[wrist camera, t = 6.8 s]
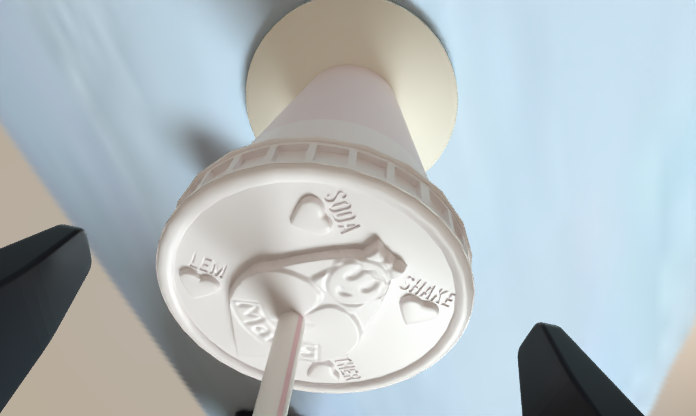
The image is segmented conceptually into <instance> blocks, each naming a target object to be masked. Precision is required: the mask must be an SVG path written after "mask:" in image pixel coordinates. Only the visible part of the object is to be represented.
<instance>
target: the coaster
mask: <svg viewBox="0 0 696 416" xmlns="http://www.w3.org/2000/svg"><path fill="white" fill-rule="evenodd" d="M339 65H358V66H362V67H366V68H368V69H370V70H372V71H374V72H376V73H377V74H379V75H380V76H381V77H382V78H384V79H385V80H386V81H387V83H388V84H389V85H390V87H391V88H392V90H393V92H394V94H395V96H396V99H397V101H398V104H399V107H400V109H401V112H402V114H403V117H404V119H405V122H406V124H407V127H408V129H409V132H410V134H411V137H412V139H413V142H414V145H415V147H416V150H417V152H418V155H419V157H420V160H421V162H422V165H423V167H424V170H425V172H427V171H428V170H429V169H430V168H431V167H432V166H433V164H434V163H435V162H436V161H437V160H438V158H439V157H440V156H441V154H442V152H443V151H444V149H445V148H446V146H447V144H448V141H449V139H450V137H451V135H452V132H453V128H454V125H455V122H456V115H457V109H458V92H457V84H456V79H455V75H454V72H453V68H452V65H451V63H450V60H449V58H448V56H447V53H446V51H445V49H444V48H443V46H442V44H441V43H440V41H439V39H438V38H437V37H436V35H435V34H434V33H433V32H432V31H431V29H430V28H429V27H428V26H427V25H426V24H425V23H424V22H423V21H421V20H420V19H419V18H418V17H417V16H416V15H414V14H413V13H411V12H410V11H408V10H407V9H405V8H404V7H402V6H400V5H398V4H395V3H393V2H391V1H389V0H311V1H309V2H307V3H305V4H302V5H300V6H299V7H297V8H296V9H294V10H292V11H291V12H289V13H288V14H286V15H285V16H284V17H283V18H282V19H281V20H280V21H278V22H277V23H276V24H275V25H274V26H273V27H272V29H271V30H270V31H269V32H268V33H267V34H266V36H265V37H264V38H263V40H262V42H261V43H260V45H259V46H258V48H257V50H256V52H255V54H254V57H253V59H252V61H251V64H250V68H249V72H248V76H247V83H246V106H247V114H248V118H249V121H250V125H251V128H252V130H253V133H254V135H255V138H257V137H258V136H259V135H260V134H261V133H262V132H263V131H264V130H265V129H266V128H267V127H268V126H269V125H270V124H271V123H272V121H273V120H274V119H275V118H276V117H277V116H278V115H279V114H280V113H281V112H282V111H283V110H284V109H285V108H286V107H287V106H288V105H289V104H290V103H291V102H292V101H293V100H294V99H295V98H296V97H297V96H298V95H299V94H300V93H301V92H302V91H303V90H304V89H305V88H306V86H307V85H308V84H309V83H310V82H311V81H312V80H313V79H314V78H315V77H316V76H318V75H319V74H320V73H322V72H323V71H325V70H327V69H329V68H332V67H335V66H339Z"/></svg>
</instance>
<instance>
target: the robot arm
mask: <svg viewBox="0 0 696 416" xmlns="http://www.w3.org/2000/svg"><path fill="white" fill-rule="evenodd" d="M90 267H91V254H90V249H89V244H88V239H87V234H86V232H85V230H84V229H82V228H79V227H74V226H69V225H57V226H55V227H52V228H50V229H47V230H45V231H42V232H40V233H38V234H35V235H32V236H30V237H28V238H25V239H23V240H20V241H18V242H15V243H13V244H10V245H8V246H6V247H3V248H1V249H0V413H1V411H2V410H3V408H4V407H5V405H6V404H7V403H8V401H9V400H10V398H11V397H12V395H13V394H14V392H15V391H16V390H17V388H18V387H19V385H20V384H21V383H22V381H23V380H24V378H25V377H26V375H27V374H28V373H29V371H30V370H31V368H32V367H33V366H34V364H35V363H36V361H37V360H38V358H39V357H40V356H41V354H42V353H43V351H44V350H45V348H46V347H47V345H48V344H49V342H50V340H51V339H52V337H53V336H54V334H55V332H56V330H57V329H58V327H59V325H60V323H61V321H62V320H63V318H64V316H65V314H66V312H67V311H68V309H69V307H70V305H71V303H72V301H73V300H74V298H75V296H76V294H77V292H78V290H79V289H80V287H81V285H82V283H83V281H84V280H85V278H86V276H87V274H88V272H89V270H90ZM518 368H519V380H520V392H521V404H522V416H644V415H643V414H642V413H641V412H640V411H639V410H638V409H637V407H636V406H635V405H634V404H633V403H632V402H631V401H630V400H629V399H628V398H627V397H626V396H625V395H624V394H623V393H622V392H621V391H620V390H619V388H618V387H617V386H616V385H615V384H614V383H613V382H612V381H611V380H610V379H609V378H608V377H607V376H606V375H605V374H604V373H603V372H602V371H601V369H600V368H599V367H598V366H597V365H596V364H595V363H594V362H593V361H592V360H591V359H590V358H589V357H588V356H587V355H586V354H585V353H584V352H583V350H582V349H581V348H580V347H579V346H578V345H577V344H576V343H575V342H574V341H573V340H572V339H571V338H570V337H569V336H568V335H567V334H566V333H565V331H564V330H563V329H561V328H560V327H559V326H556V325H552V324H547V323H542V322H540V323H537V324H535V325H534V327H533V328H532V330H531V331H530V333H529V334H528V335H527V337H526V338H525V340H524V341H523V343H522V344H521V346H520V348H519V351H518ZM252 415H253V413H247V412H241V411H240V412H237V413H236V414H235V416H252Z"/></svg>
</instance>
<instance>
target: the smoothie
mask: <svg viewBox="0 0 696 416" xmlns="http://www.w3.org/2000/svg"><path fill="white" fill-rule="evenodd" d="M471 262H472V253H471V249H470V245H469V242H468V238H467V235H466V231H465V227H464V224H463V221H462V220H461V218H460V217H459V216H458V214H457V213H456V211H455V210H454V208H453V207H452V205H451V204H450V202H449V201H448V199H447V198H446V196H445V195H444V194H443V192H442V191H441V190H440V189H439V188H438V187H436V186H435V185H434V184H433V183H431V182H430V181H429V179H428V177H427V175H426V172H425V170H424V167H423V165H422V162H421V160H420V157H419V155H418V152H417V150H416V147H415V145H414V142H413V139H412V137H411V134H410V132H409V129H408V127H407V124H406V122H405V119H404V117H403V114H402V112H401V109H400V107H399V104H398V101H397V99H396V96H395V94H394V92H393V90H392V88H391V87H390V85H389V84H388V83H387V81H386V80H385V79H384V78H382V77H381V76H380V75H379V74H377V73H376V72H374V71H372V70H370V69H368V68H366V67H362V66H358V65H339V66H335V67H332V68H329V69H327V70H325V71H323V72H322V73H320V74H319V75H318V76H316V77H315V78H314V79H313V80H312V81H311V82H310V83H309V84H308V85H307V86H306V88H305V89H304V90H303V91H302V92H301V93H300V94H299V95H298V96H297V97H296V98H295V99H294V100H293V101H292V102H291V103H290V104H289V105H288V106H287V107H286V108H285V109H284V110H283V111H282V112H281V113H280V114H279V115H278V116H277V117H276V118H275V119H274V120H273V121H272V123H271V124H270V125H269V126H268V127H267V128H266V129H265V130H264V131H263V132H262V133H261V134H260V135H259V136H258V137H257V138H256V139H255V140H254V141H253V142H252V143H251V144H250V145H248V146H245V147H242V148H239V149H236V150H233V151H230V152H229V153H227V154H226V155H224V156H223V157H221V158H220V159H218V160H217V161H216V162H214V163H213V164H211V165H210V166H208V167H207V168H205V169H204V170H203V171H201V172H200V173H198V174H197V176H196V177H195V179H194V180H193V181H192V183H191V184H190V185H189V187H188V188H187V190H186V191H185V192H184V194H183V195H182V196H181V198H180V199H179V201H178V203H177V206H176V210H175V211H174V213H173V214H172V215H171V217H170V218H169V220H168V221H167V223H166V225H165V227H164V229H163V231H162V234H161V237H160V240H159V242H158V248H157V253H156V272H157V279H158V283H159V288H160V291H161V293H162V296H163V299H164V301H165V303H166V305H167V307H168V309H169V311H170V312H171V314H172V315H173V317H174V318H175V320H176V321H177V322H178V324H179V325H180V326H181V328H182V329H183V330H184V331H185V332H186V333H187V334H188V335H189V336H190V337H191V338H192V339H193V340H194V341H195V342H196V343H197V344H198V345H199V346H200V347H201V348H202V349H204V350H205V351H206V352H208V353H209V354H211V355H212V356H213V357H215V358H216V359H217V360H219V361H220V362H222V363H224V364H226V365H228V366H229V367H231V368H233V369H235V370H237V371H239V372H240V373H243V374H245V375H248V376H250V377H253V378H255V379H258V380H260V381H262V382H261V385H260V389H259V393H258V396H257V400H256V404H255V408H254V411H253V415H252V416H287V414H288V409H289V404H290V399H291V394H292V389H294V390H300V391H307V392H314V393H351V392H364V391H368V390H373V389H378V388H383V387H387V386H390V385H393V384H396V383H398V382H401V381H404V380H407V379H410V378H412V377H413V376H415V375H417V374H419V373H421V372H423V371H424V370H426V369H428V368H430V367H431V366H432V365H434V364H435V363H436V362H438V361H439V360H440V359H441V358H443V357H444V356H445V355H446V354H447V353H448V352H449V351H450V350H451V349H452V348H453V346H454V345H455V344H456V343H457V342H458V340H459V339H460V337H461V336H462V334H463V333H464V331H465V329H466V327H467V325H468V322H469V320H470V317H471V314H472V310H473V305H474V295H475V289H474V278H473V274H472V269H471Z"/></svg>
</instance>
